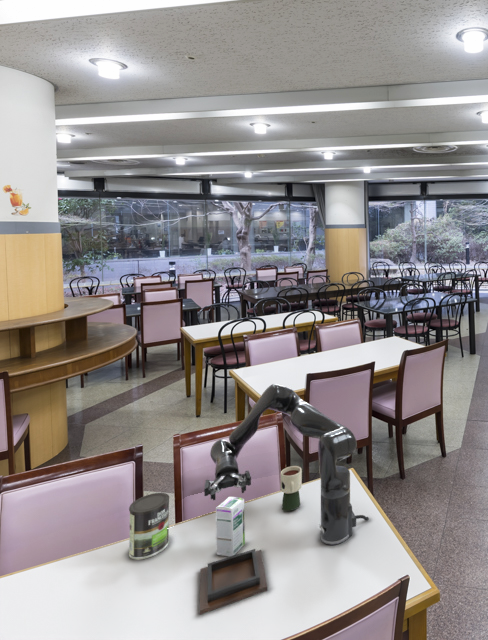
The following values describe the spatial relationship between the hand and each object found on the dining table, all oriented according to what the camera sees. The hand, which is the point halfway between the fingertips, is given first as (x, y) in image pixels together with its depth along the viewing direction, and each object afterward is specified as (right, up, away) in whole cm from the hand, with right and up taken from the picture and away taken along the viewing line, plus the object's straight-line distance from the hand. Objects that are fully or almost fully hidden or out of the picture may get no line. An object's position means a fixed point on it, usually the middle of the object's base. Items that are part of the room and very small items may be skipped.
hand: (228, 493), depth 142 cm
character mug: (+17, -12, +11) cm, 23 cm away
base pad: (+12, -11, -22) cm, 28 cm away
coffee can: (-20, -11, -9) cm, 25 cm away
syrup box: (+5, -11, -10) cm, 16 cm away
